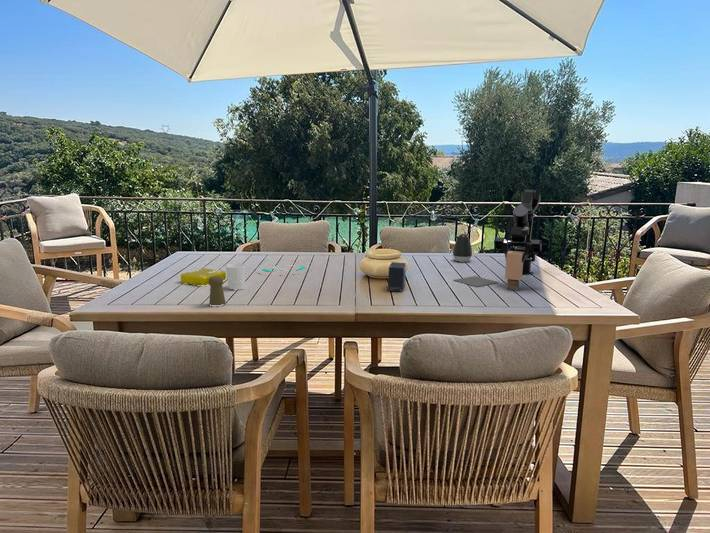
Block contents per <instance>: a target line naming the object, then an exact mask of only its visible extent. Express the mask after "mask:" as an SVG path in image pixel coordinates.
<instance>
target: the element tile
mask: <svg viewBox="0 0 710 533" xmlns="http://www.w3.org/2000/svg"><path fill="white" fill-rule="evenodd" d="M179 276H180V283H181V282H182V283H187V284H186V285H188V284H195V285H207V284H209V278H210V277H212V276H221V277H222V278H223V280H225V279H226V280H227V271H224V270H217V269H211V268H200V269H197V270H191V271H188V272H183V273H181V274H180V275H179ZM226 280H225V281H226ZM182 283H181V284H182Z"/></svg>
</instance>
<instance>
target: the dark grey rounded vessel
mask: <svg viewBox="0 0 710 533" xmlns="http://www.w3.org/2000/svg"><path fill="white" fill-rule="evenodd" d="M454 238H455V239H456V240H455V243H454V245H453V250H452V256H453V259H454V260H455V261H456V262H457V261H459V262H458V263H467V262H469V261H470V260H471V258H472V256H473V249H472V242H471V240H470V238H469V236H468V234H466V233H460V234H459V235H455V236H454Z"/></svg>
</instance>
